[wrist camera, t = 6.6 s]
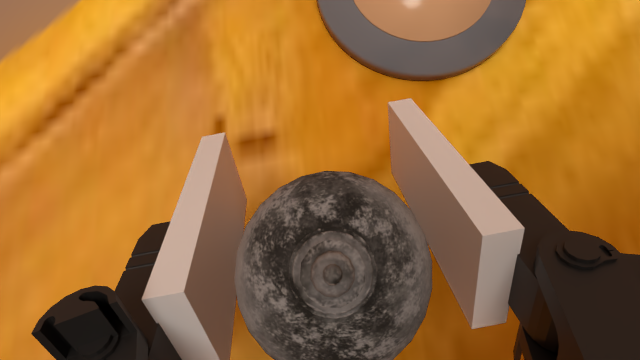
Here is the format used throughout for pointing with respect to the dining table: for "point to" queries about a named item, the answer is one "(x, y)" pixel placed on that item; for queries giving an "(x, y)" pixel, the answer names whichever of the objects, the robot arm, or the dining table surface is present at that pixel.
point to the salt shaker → (333, 270)
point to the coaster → (420, 33)
